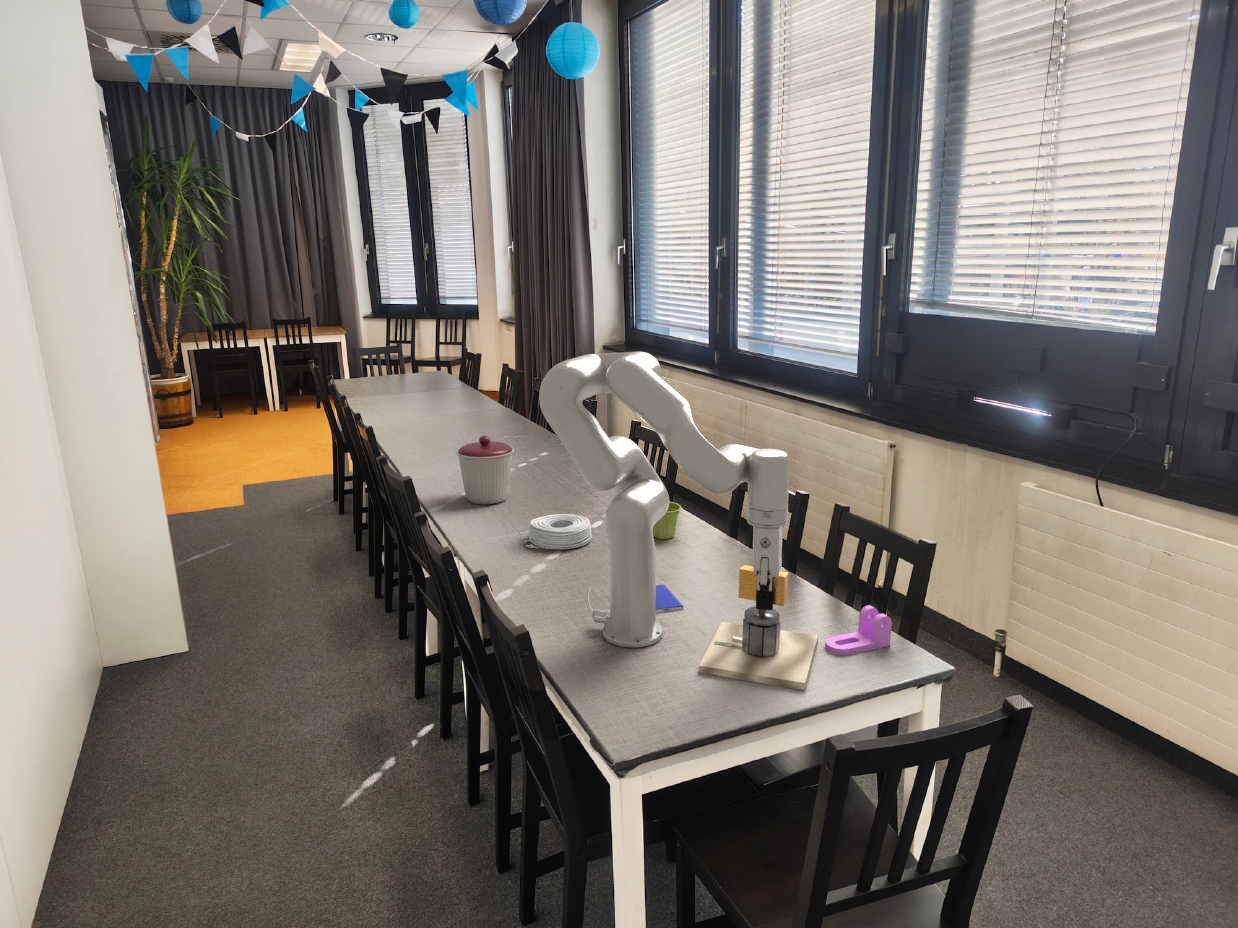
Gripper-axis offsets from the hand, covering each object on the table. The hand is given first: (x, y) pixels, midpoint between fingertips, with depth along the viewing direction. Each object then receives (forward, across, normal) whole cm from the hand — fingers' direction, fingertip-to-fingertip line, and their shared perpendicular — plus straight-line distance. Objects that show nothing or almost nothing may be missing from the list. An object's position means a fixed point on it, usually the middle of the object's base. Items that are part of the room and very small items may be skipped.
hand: (765, 603), depth 161 cm
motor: (+10, 0, +1) cm, 10 cm away
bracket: (+12, +10, -18) cm, 23 cm away
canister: (+10, +85, +94) cm, 127 cm away
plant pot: (+11, +65, +32) cm, 73 cm away
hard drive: (+12, +22, +26) cm, 36 cm away
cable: (+11, +55, +60) cm, 82 cm away
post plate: (+12, 0, +1) cm, 12 cm away
